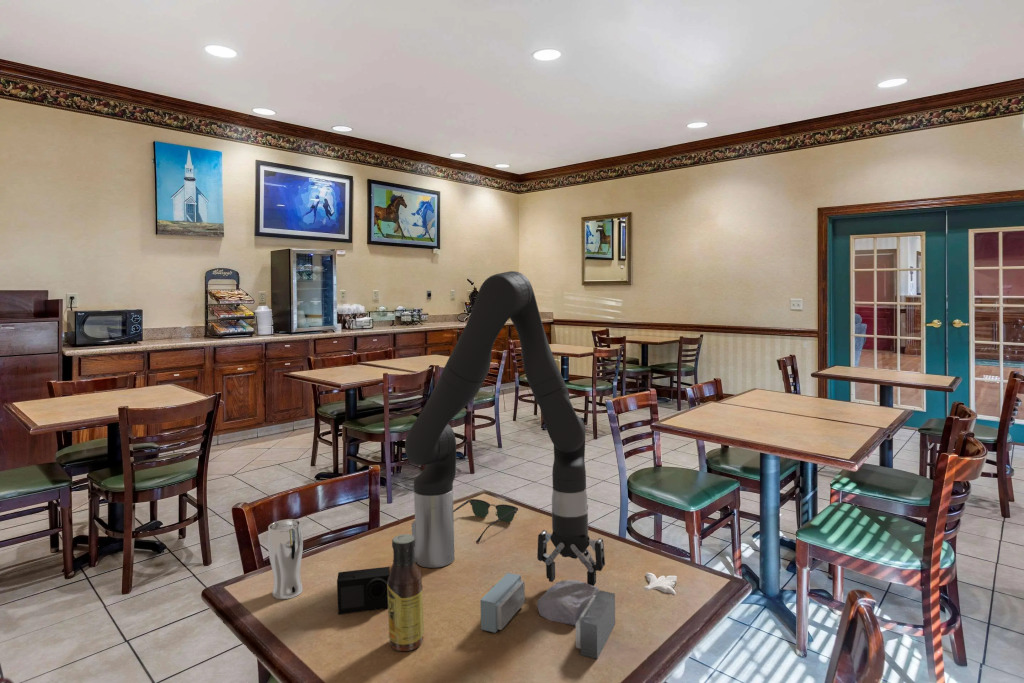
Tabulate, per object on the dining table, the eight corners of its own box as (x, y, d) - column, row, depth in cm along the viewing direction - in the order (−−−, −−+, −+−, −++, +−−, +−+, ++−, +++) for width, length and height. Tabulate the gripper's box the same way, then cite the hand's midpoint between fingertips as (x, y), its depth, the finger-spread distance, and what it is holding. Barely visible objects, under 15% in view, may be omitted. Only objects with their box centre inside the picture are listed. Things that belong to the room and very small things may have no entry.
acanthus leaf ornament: (645, 578, 131) (645, 569, 131) (677, 581, 129) (677, 573, 128) (642, 593, 124) (642, 584, 123) (676, 598, 121) (676, 589, 121)
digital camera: (337, 618, 115) (335, 583, 115) (339, 604, 120) (337, 571, 120) (390, 611, 117) (389, 577, 117) (390, 598, 123) (389, 565, 122)
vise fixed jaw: (575, 653, 102) (574, 620, 101) (594, 619, 113) (594, 589, 112) (597, 659, 100) (596, 625, 100) (615, 623, 111) (614, 593, 111)
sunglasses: (435, 534, 157) (434, 516, 157) (470, 514, 172) (470, 497, 172) (486, 546, 149) (486, 526, 149) (519, 524, 164) (519, 506, 163)
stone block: (534, 625, 114) (580, 628, 109) (530, 600, 115) (575, 602, 110) (561, 600, 125) (604, 602, 120) (557, 577, 125) (599, 578, 120)
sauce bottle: (391, 635, 109) (388, 530, 107) (425, 632, 109) (422, 529, 108) (386, 656, 102) (383, 545, 101) (422, 653, 103) (419, 543, 101)
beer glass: (311, 588, 127) (309, 521, 126) (287, 603, 121) (284, 532, 120) (288, 582, 130) (285, 516, 129) (263, 596, 124) (259, 528, 123)
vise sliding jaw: (481, 629, 109) (480, 599, 109) (508, 599, 120) (507, 572, 120) (500, 633, 108) (499, 604, 107) (525, 603, 119) (525, 576, 118)
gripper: (531, 510, 122) (533, 586, 123) (597, 519, 116) (599, 598, 117) (544, 499, 129) (545, 571, 130) (607, 507, 123) (608, 581, 124)
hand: (571, 583), depth 124 cm, fingers open, 8 cm apart
